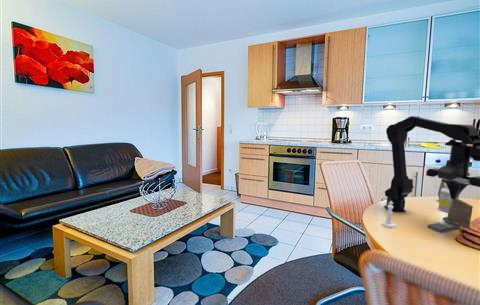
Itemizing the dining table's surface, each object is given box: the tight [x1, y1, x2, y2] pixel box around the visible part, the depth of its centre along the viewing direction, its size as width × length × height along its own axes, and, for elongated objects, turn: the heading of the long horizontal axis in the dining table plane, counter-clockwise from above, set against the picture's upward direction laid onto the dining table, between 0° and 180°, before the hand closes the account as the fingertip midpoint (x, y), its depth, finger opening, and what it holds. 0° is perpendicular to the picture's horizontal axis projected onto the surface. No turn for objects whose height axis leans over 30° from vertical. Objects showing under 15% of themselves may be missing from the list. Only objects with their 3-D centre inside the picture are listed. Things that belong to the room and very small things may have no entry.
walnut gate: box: [447, 198, 474, 229], centre depth 99 cm, size 2×12×9 cm, turn 166°
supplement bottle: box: [438, 183, 460, 213], centre depth 116 cm, size 7×7×13 cm
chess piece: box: [380, 201, 396, 229], centre depth 98 cm, size 5×5×10 cm
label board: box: [427, 216, 462, 234], centre depth 100 cm, size 8×18×1 cm, turn 111°
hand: (453, 199), depth 95 cm, fingers closed
